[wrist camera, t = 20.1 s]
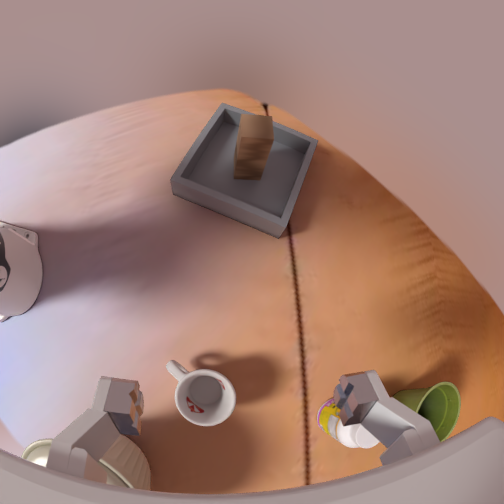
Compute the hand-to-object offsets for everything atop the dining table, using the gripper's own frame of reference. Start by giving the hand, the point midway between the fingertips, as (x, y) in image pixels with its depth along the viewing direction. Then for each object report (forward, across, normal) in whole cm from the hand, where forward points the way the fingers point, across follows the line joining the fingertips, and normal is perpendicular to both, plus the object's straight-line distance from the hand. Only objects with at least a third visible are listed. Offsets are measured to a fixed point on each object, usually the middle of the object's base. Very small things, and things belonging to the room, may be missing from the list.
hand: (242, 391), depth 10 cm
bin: (+47, -5, +2) cm, 47 cm away
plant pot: (+15, -34, +34) cm, 50 cm away
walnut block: (+46, -5, +1) cm, 46 cm away
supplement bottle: (+16, -19, +33) cm, 41 cm away
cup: (+21, +3, +28) cm, 35 cm away
